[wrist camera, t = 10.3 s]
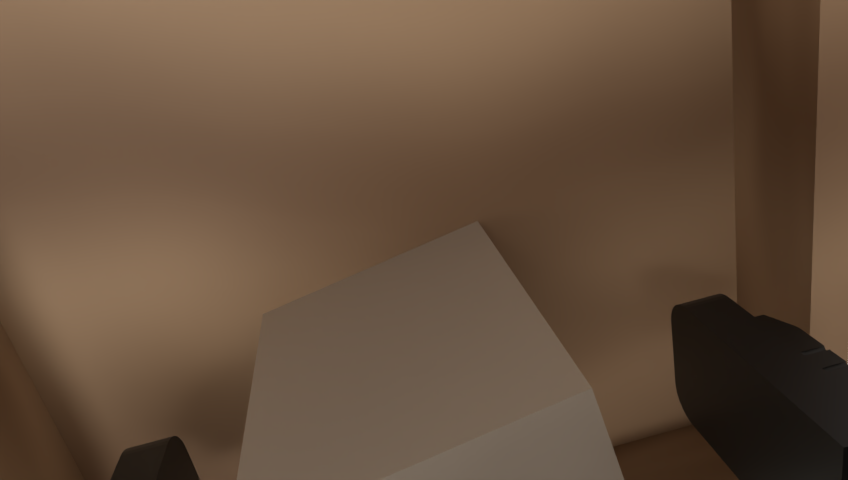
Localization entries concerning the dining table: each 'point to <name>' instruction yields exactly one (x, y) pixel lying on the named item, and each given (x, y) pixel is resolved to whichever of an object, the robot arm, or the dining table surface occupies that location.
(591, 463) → the beige matte cube
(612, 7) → the walnut tray
